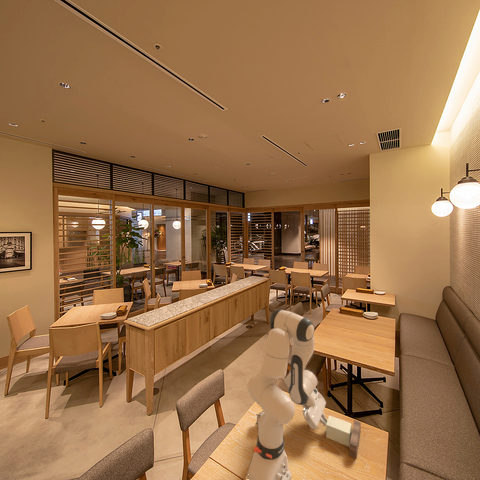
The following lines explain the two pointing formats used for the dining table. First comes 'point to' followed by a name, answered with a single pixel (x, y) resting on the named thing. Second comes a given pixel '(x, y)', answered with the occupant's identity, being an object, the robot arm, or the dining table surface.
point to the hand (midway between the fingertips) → (326, 423)
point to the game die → (259, 416)
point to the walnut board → (355, 438)
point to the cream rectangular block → (338, 430)
